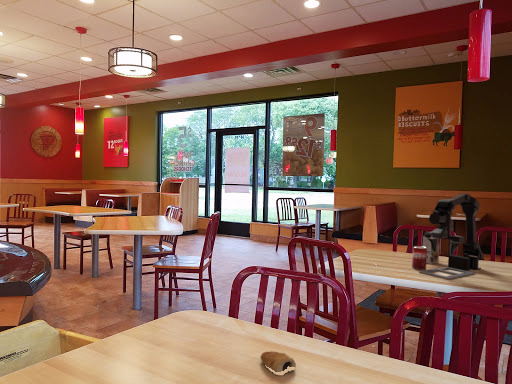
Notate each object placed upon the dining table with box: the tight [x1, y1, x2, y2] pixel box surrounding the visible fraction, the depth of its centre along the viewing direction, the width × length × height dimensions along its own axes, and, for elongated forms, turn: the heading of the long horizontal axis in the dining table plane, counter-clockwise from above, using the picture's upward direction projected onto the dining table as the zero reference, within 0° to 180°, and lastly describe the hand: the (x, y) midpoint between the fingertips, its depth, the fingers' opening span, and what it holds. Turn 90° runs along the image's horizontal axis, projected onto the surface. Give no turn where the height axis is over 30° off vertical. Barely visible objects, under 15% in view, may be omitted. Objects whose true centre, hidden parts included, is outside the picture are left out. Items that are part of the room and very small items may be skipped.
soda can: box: [411, 245, 427, 271], centre depth 214 cm, size 7×7×12 cm
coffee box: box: [422, 235, 441, 265], centre depth 232 cm, size 9×6×16 cm
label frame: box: [418, 266, 476, 281], centre depth 205 cm, size 26×16×1 cm, turn 125°
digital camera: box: [447, 254, 471, 272], centre depth 218 cm, size 10×5×7 cm, turn 36°
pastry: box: [260, 351, 297, 372], centre depth 95 cm, size 9×7×4 cm
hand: (443, 253), depth 201 cm, fingers open, 9 cm apart
